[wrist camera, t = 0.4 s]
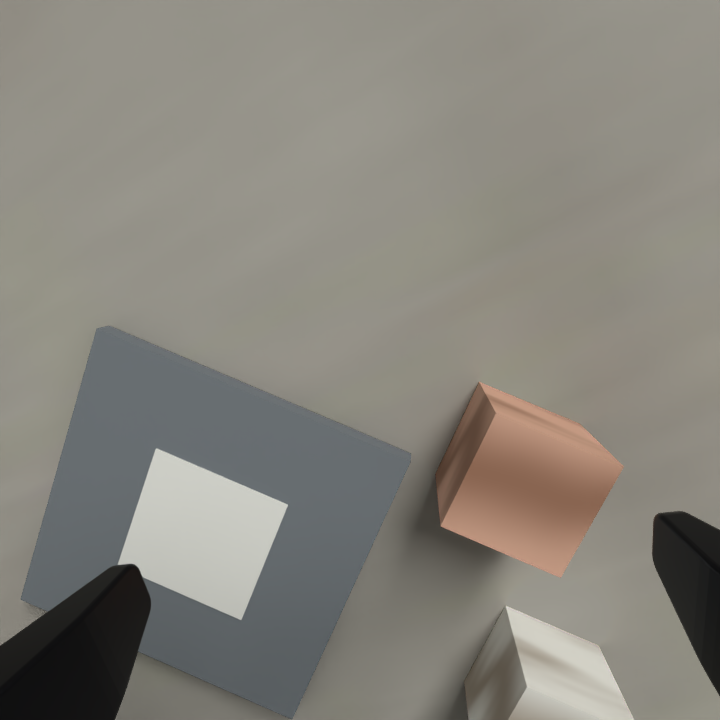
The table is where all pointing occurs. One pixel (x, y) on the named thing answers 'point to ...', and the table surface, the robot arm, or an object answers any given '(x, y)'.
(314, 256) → the table surface
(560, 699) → the off-white block
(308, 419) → the blue-grey square plate
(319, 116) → the table surface
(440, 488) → the terracotta block
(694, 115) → the table surface
